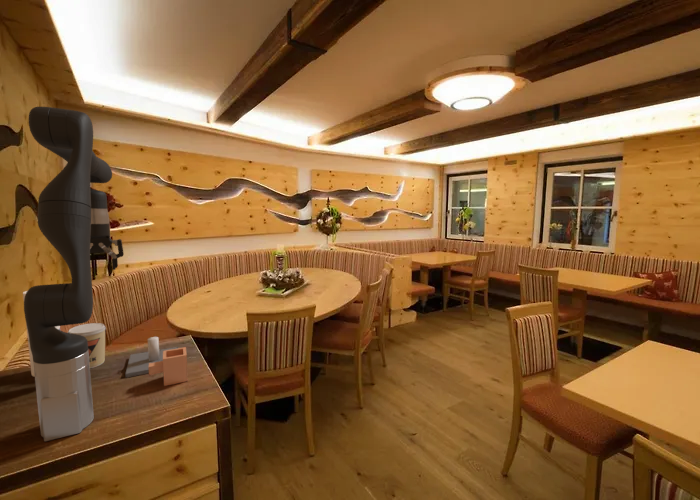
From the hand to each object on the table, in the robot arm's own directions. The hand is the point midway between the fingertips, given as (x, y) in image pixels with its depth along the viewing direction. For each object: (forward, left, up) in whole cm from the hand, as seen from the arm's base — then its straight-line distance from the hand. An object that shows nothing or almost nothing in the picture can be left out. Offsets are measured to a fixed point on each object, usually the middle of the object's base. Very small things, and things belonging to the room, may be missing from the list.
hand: (98, 270), depth 108 cm
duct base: (-18, -16, -29) cm, 37 cm away
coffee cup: (-10, +2, -29) cm, 30 cm away
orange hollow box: (-32, -20, -28) cm, 47 cm away
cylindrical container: (-10, +12, -29) cm, 33 cm away
